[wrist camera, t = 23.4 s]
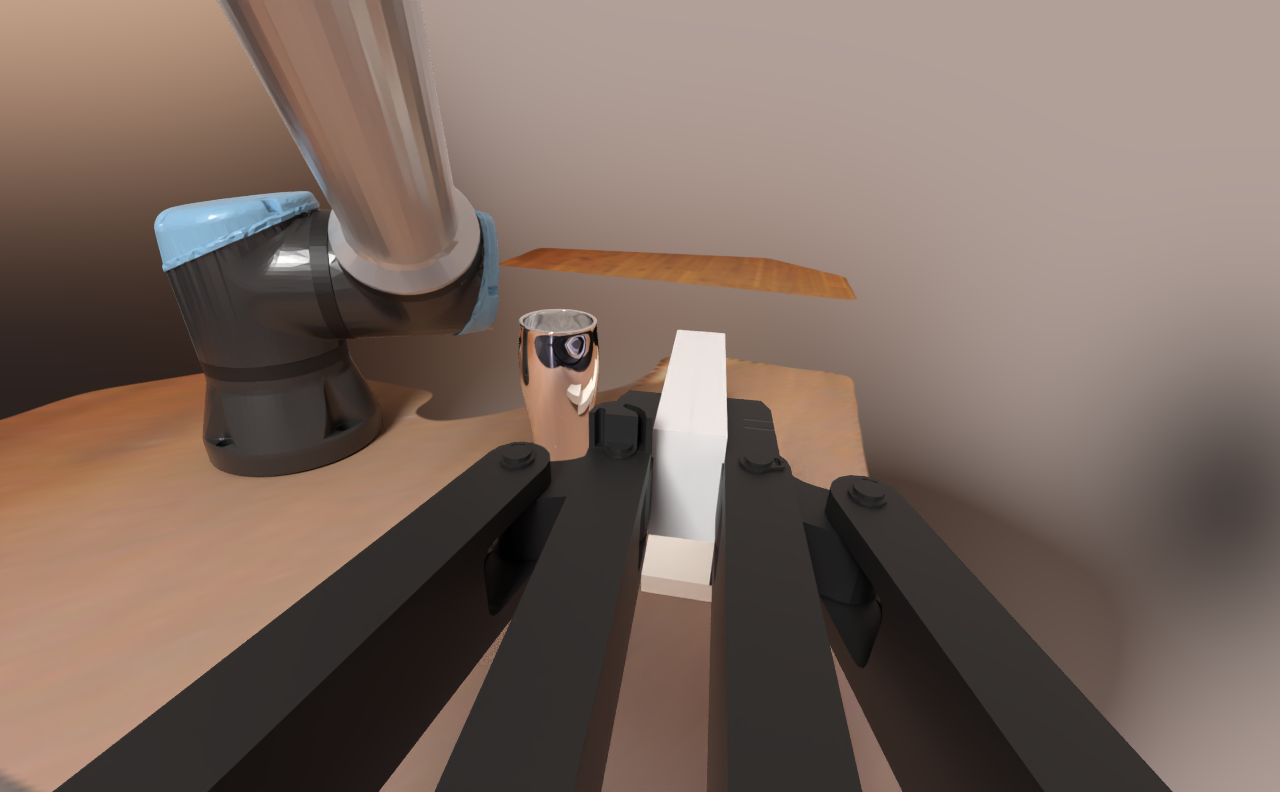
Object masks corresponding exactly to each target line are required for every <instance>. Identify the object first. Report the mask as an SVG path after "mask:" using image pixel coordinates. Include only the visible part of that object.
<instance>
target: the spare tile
mask: <svg viewBox="0 0 1280 792" xmlns="http://www.w3.org/2000/svg"><path fill="white" fill-rule="evenodd" d="M714 543H715V540H714V542H706V541H698V540H690V539H682V538H674V537H666V536H658V535H650V534H649V536H648V542H647V547H646V552H645V558H644V563H643V568H642V573H641V591H643V592H649V593H655V594H662V595H668V596H674V597H680V598H687V599H693V600H699V601H705V602H711V600H712V586H710V585H709V582H710V574H711V566H712V558H713V550H714Z"/></svg>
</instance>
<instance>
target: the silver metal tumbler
mask: <svg viewBox="0 0 1280 792" xmlns="http://www.w3.org/2000/svg"><path fill="white" fill-rule="evenodd" d="M519 371H520V380H521V386H522V391H523V396H524V400H525V404H526V408H527V412H528V415H529V419H530V423H531V427H532V433H533V443H535V444H538V445H540V446H543V447H545V448H546V450H547V451H548V452H549V453H550V461H561V460H570V459H576V458H580V457H583V456H585V454H586V452H587V450H588V448H589V411H590V410H591V409H592V408H593V407H594V406H595V401H596V395H597V389H598V382H599V345H598V332H597V319H596V318H595V317H594V316H593V315H591V314H589V313H586V312H581V311H577V310H568V309H548V310H540V311H534V312H531V313H528V314H526V315H524V316H522V317H521V318H520V319H519Z"/></svg>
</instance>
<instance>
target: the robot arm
mask: <svg viewBox="0 0 1280 792" xmlns="http://www.w3.org/2000/svg"><path fill="white" fill-rule="evenodd" d="M216 1H217V2H218V4H219V6H220V8H221V10H222V11H223V13H224V15H225V17H226V18H227V20H228V22H229V24H230V26H231V27H232V29H233V31H234V33H235V35H236V37H237V38H238V40H239V42H240V44H241V45H242V47H243V49H244V51H245V53H246V54H247V56H248V58H249V60H250V62H251V63H252V65H253V67H254V69H255V71H256V72H257V74H258V76H259V78H260V79H261V81H262V83H263V85H264V87H265V89H266V90H267V92H268V94H269V96H270V98H271V99H272V101H273V103H274V105H275V107H276V108H277V110H278V112H279V114H280V115H281V117H282V119H283V121H284V123H285V125H286V126H287V128H288V130H289V132H290V134H291V135H292V137H293V139H294V141H295V143H296V144H297V146H298V148H299V150H300V151H301V153H302V155H303V157H304V159H305V161H306V162H307V164H308V166H309V168H310V170H311V171H312V173H313V175H314V177H315V179H316V180H317V182H318V184H319V186H320V187H321V189H322V191H323V192H324V195H325V197H326V198H327V200H328V202H329V204H330V206H331V207H332V210H320V209H318V207H319V202H318V201H317V200H316V199H315V197H314V195H313V194H312V193H310V192H307V191H302V192H282V193H271V194H262V195H252V196H243V197H235V198H227V199H219V200H212V201H205V202H199V203H192V204H186V205H181V206H176V207H172V208H169V209H166V210H165V211H163V212H162V213H160V215H158V217H157V219H156V221H155V226H154V229H155V233H156V238H157V241H158V245H159V249H160V253H161V257H162V261H163V266H162V268H163V270H164V272H167V275H168V277H169V280H170V282H171V285H172V288H173V291H174V293H175V296H176V299H177V301H178V304H179V307H180V310H181V312H182V315H183V317H184V320H185V323H186V325H187V328H188V331H189V333H190V336H191V339H192V342H193V344H194V347H195V350H196V352H197V355H198V358H199V360H200V363H201V366H202V368H203V371H204V374H205V377H206V382H207V384H206V397H205V411H204V424H203V442H204V445H205V448H206V450H207V453H208V456H209V458H210V461H211V463H212V464H213V465H214V466H215V467H216V468H218V469H220V470H221V471H224V472H227V473H230V474H234V475H241V476H276V475H284V474H291V473H296V472H301V471H305V470H310V469H313V468H317V467H320V466H323V465H326V464H329V463H332V462H335V461H337V460H340V459H342V458H344V457H346V456H349V455H351V454H353V453H354V452H356V451H358V450H360V449H361V448H363V447H364V446H366V445H367V444H368V443H370V442H371V441H372V440H373V439H374V438H375V437H376V436H377V435H378V433H379V432H380V430H381V428H382V425H383V419H382V414H381V409H380V405H379V402H378V399H377V398H376V396H375V395H374V393H373V392H372V390H371V388H370V387H369V385H368V384H367V382H366V381H365V379H364V378H363V376H362V374H361V373H360V371H359V370H358V368H357V367H356V365H355V363H354V362H353V360H352V359H351V357H350V353H349V349H348V345H347V341H346V339H352V338H353V339H354V338H371V337H372V338H374V337H397V336H422V335H446V334H452V335H454V336H460V335H464V334H466V333H473V332H483V331H485V330H488V329H489V328H490V327H491V326H492V325H493V323H494V321H495V318H496V314H497V308H498V283H499V254H498V241H497V233H496V227H495V223H494V221H493V219H492V218H491V217H490V215H488V214H487V213H484V212H479V211H477V210H474V209H473V207H472V205H471V204H470V202H469V201H468V200H467V198H466V197H465V196H464V195H463V194H462V193H461V192H460V191H459V190H458V189H457V188H455V187H454V185H453V180H452V174H451V169H450V163H449V157H448V152H447V146H446V141H445V135H444V130H443V124H442V118H441V113H440V107H439V102H438V96H437V91H436V85H435V80H434V74H433V69H432V63H431V57H430V52H429V46H428V41H427V35H426V29H425V24H424V18H423V12H422V7H421V1H420V0H216ZM647 528H648V534H650V535H658V536H666V537H674V538H682V539H690V540H698V541H706V542H714V540H715V543H714V550H713V558H712V566H711V574H710V582H709V585H710V586H712V600H711V642H710V684H709V727H708V769H707V792H862V789H861V784H860V780H859V775H858V771H857V766H856V762H855V757H854V753H853V748H852V744H851V739H850V734H849V730H848V725H847V721H846V716H845V712H844V707H843V703H842V698H841V694H840V689H839V685H838V680H837V676H836V671H835V667H834V662H833V658H832V653H831V648H832V650H833V652H834V654H835V656H836V658H837V660H838V662H839V664H840V666H841V668H842V670H843V672H844V674H845V676H846V678H847V680H848V682H849V684H850V686H851V688H852V690H853V692H854V694H855V696H856V698H857V700H858V702H859V704H860V706H861V708H862V710H863V712H864V715H865V717H866V719H867V721H868V723H869V725H870V727H871V729H872V731H873V733H874V735H875V737H876V739H877V741H878V743H879V745H880V747H881V749H882V751H883V753H884V755H885V757H886V759H887V761H888V763H889V765H890V767H891V769H892V771H893V773H894V775H895V777H896V779H897V781H898V783H899V785H900V787H901V789H902V792H1172V791H1171V790H1170V788H1169V787H1168V786H1167V785H1166V784H1165V783H1164V782H1163V781H1162V780H1161V779H1160V778H1159V776H1158V775H1157V774H1156V773H1155V772H1154V771H1153V770H1152V769H1151V768H1150V767H1149V766H1148V764H1147V763H1146V762H1145V761H1144V760H1143V759H1142V758H1141V757H1140V756H1139V755H1138V754H1137V752H1136V751H1135V750H1134V749H1133V748H1132V747H1131V746H1130V745H1129V744H1128V743H1127V742H1126V741H1125V739H1124V738H1123V737H1122V736H1121V735H1120V734H1119V733H1118V732H1117V731H1116V730H1115V728H1114V727H1113V726H1112V725H1111V724H1110V723H1109V722H1108V721H1107V720H1106V719H1105V718H1104V717H1103V715H1102V714H1101V713H1100V712H1099V711H1098V710H1097V709H1096V708H1095V707H1094V705H1093V704H1092V703H1091V702H1090V701H1089V700H1088V699H1087V698H1086V697H1085V696H1084V694H1083V693H1082V692H1081V691H1080V690H1079V689H1078V688H1077V687H1076V686H1075V685H1074V684H1073V682H1072V681H1071V680H1070V679H1069V678H1068V677H1067V676H1066V675H1065V674H1064V673H1063V672H1062V670H1061V669H1060V668H1058V666H1057V665H1056V664H1055V663H1054V662H1053V661H1052V660H1051V659H1050V657H1049V656H1048V655H1047V654H1046V653H1045V652H1044V651H1043V650H1042V649H1041V648H1040V646H1039V645H1038V644H1037V643H1036V642H1035V641H1034V640H1033V639H1032V638H1031V637H1030V635H1028V633H1027V632H1026V631H1025V630H1024V629H1023V628H1022V627H1021V626H1020V625H1019V623H1018V622H1016V620H1015V619H1014V618H1013V617H1012V616H1011V615H1010V614H1009V613H1008V611H1007V610H1006V609H1005V608H1004V607H1003V606H1002V605H1001V604H1000V603H999V602H998V601H997V599H996V598H995V597H994V596H993V595H992V594H991V593H990V592H989V591H988V590H987V589H986V587H985V586H984V585H983V584H982V583H981V582H980V581H979V580H978V579H977V578H976V576H975V575H973V573H972V572H971V571H970V570H969V569H968V568H967V567H966V566H965V564H964V563H963V562H962V561H961V560H960V559H959V558H958V557H957V556H956V555H955V554H954V552H952V550H951V549H950V548H949V547H948V546H947V545H946V544H945V543H944V542H943V540H941V538H940V537H939V536H938V535H937V534H936V533H935V532H934V531H933V529H932V528H931V527H930V526H929V525H928V524H927V523H926V522H925V521H924V520H923V519H922V518H921V516H920V515H919V514H918V513H917V512H916V511H915V510H914V509H913V508H912V507H911V506H910V504H909V503H908V502H907V501H906V500H905V499H904V498H903V497H902V496H901V495H900V494H899V493H898V492H897V491H895V490H894V489H893V488H892V487H890V486H888V485H886V484H884V483H882V482H880V481H879V480H876V479H873V478H869V477H865V476H853V475H849V476H843V477H839V478H837V479H836V480H834V481H833V482H832V484H831V487H830V490H827V489H824V488H820V487H817V486H814V485H811V484H808V483H805V482H803V481H801V480H799V479H797V478H795V477H794V476H792V472H791V467H790V466H789V464H788V462H787V461H786V460H785V459H784V458H782V457H781V456H780V455H779V450H778V445H777V440H776V434H775V431H774V424H773V419H772V414H771V410H770V409H769V408H768V407H767V406H766V405H765V404H764V403H763V402H761V401H755V400H744V399H733V398H727V394H726V356H725V333H713V332H700V331H687V330H677V334H676V339H675V342H674V346H673V351H672V354H671V358H670V362H669V366H668V371H667V375H666V379H665V383H664V387H663V391H662V393H653V392H642V391H631V390H630V391H628V392H627V393H625V394H624V395H623V396H621V397H620V398H619V399H618V401H612V402H606V403H602V404H599V405H597V406H595V407H593V408H592V409H591V410H590V411H589V448H588V450H587V452H586V454H585V456H583V457H580V458H576V459H570V460H561V461H550V453H549V452H548V451H547V450H546V448H545V447H543V446H540V445H538V444H535V443H528V442H513V443H510V444H506V445H502V446H499V447H498V448H496V449H494V450H492V451H490V452H489V453H488V454H486V455H485V456H484V457H483V458H481V459H480V460H479V461H477V462H476V463H475V464H474V465H472V466H471V467H470V468H468V469H467V470H466V471H465V472H463V473H462V474H461V475H459V476H458V477H457V478H456V479H454V480H453V481H452V482H450V483H449V484H448V485H447V486H445V487H444V488H443V489H441V490H440V491H439V492H438V493H436V494H435V495H434V496H432V497H431V498H430V499H429V500H427V501H426V502H425V503H423V504H422V505H421V506H420V507H418V508H417V509H416V510H414V511H413V512H412V513H411V514H409V515H408V516H407V517H405V518H404V519H403V520H402V521H400V522H399V523H398V524H396V525H395V526H394V527H393V528H391V529H390V530H389V531H387V532H386V533H385V534H384V535H382V536H381V537H380V538H378V539H377V540H376V541H375V542H373V543H372V544H371V545H369V546H368V547H367V548H366V549H364V550H363V551H362V552H360V553H359V554H358V555H357V556H355V557H354V558H353V559H351V560H350V561H349V562H348V563H346V564H345V565H344V566H342V567H341V568H340V569H339V570H337V571H336V572H335V573H333V574H332V575H331V576H330V577H328V578H327V579H326V580H324V581H323V582H322V583H321V584H319V585H318V586H317V587H315V588H314V589H313V590H312V591H310V592H309V593H308V594H306V595H305V596H304V597H303V598H301V599H300V600H299V601H297V602H296V603H295V604H294V605H292V606H291V607H290V608H288V609H287V610H286V611H285V612H283V613H282V614H281V615H279V616H278V617H277V618H276V619H274V620H273V621H272V622H270V623H269V624H268V625H267V626H265V627H264V628H263V629H261V630H260V631H259V632H258V633H256V634H255V635H254V636H252V637H251V638H250V639H248V640H247V641H246V642H245V643H243V644H242V645H241V646H239V647H238V648H237V649H236V650H234V651H233V652H232V653H230V654H229V655H228V656H227V657H225V658H224V659H223V660H221V661H220V662H219V663H218V664H216V665H215V666H214V667H212V668H211V669H210V670H209V671H207V672H206V673H205V674H203V675H202V676H201V677H200V678H198V679H197V680H196V681H194V682H193V683H192V684H191V685H189V686H188V687H187V688H185V689H184V690H183V691H182V692H180V693H179V694H178V695H176V696H175V697H174V698H173V699H171V700H170V701H169V702H167V703H166V704H165V705H164V706H162V707H161V708H160V709H158V710H157V711H156V712H155V713H153V714H152V715H151V716H149V717H148V718H147V719H146V720H144V721H143V722H142V723H140V724H139V725H138V726H137V727H135V728H134V729H133V730H131V731H130V732H129V733H128V734H126V735H125V736H124V737H122V738H121V739H120V740H119V741H117V742H116V743H115V744H113V745H112V746H111V747H110V748H108V749H107V750H106V751H104V752H103V753H102V754H101V755H99V756H98V757H97V758H95V759H94V760H93V761H92V762H90V763H89V764H88V765H86V766H85V767H84V768H83V769H81V770H80V771H79V772H77V773H76V774H75V775H74V776H72V777H71V778H70V779H68V780H67V781H66V782H65V783H63V784H62V785H61V786H59V787H58V788H57V789H56V790H54V791H53V792H379V791H380V789H381V788H382V787H383V785H384V784H385V783H386V781H387V780H388V779H389V778H390V776H391V775H392V774H393V772H394V771H395V770H396V768H397V767H398V766H399V765H400V763H401V762H402V761H403V759H404V758H405V757H406V755H407V754H408V753H409V752H410V750H411V749H412V748H413V746H414V745H415V744H416V742H417V741H418V740H419V739H420V737H421V736H422V735H423V733H424V732H425V731H426V729H427V728H428V727H429V726H430V724H431V723H432V722H433V720H434V719H435V718H436V716H437V715H438V714H439V713H440V711H441V710H442V709H443V707H444V706H445V705H446V703H447V702H448V701H449V700H450V698H451V697H452V696H453V694H454V693H455V692H456V690H457V689H458V688H459V686H460V685H461V684H462V683H463V681H464V680H465V679H466V677H467V676H468V675H469V673H470V672H471V671H472V670H473V668H474V667H475V666H476V664H477V663H478V662H479V660H480V659H481V658H482V657H483V655H484V654H485V653H486V651H487V650H488V649H489V647H490V646H491V645H492V644H493V642H494V641H495V640H496V638H497V637H498V636H499V634H500V633H501V632H502V631H503V629H504V628H505V627H506V625H507V624H508V623H509V621H510V620H511V619H512V620H511V622H510V624H509V627H508V629H507V631H506V633H505V635H504V638H503V640H502V642H501V644H500V647H499V649H498V651H497V653H496V656H495V658H494V660H493V662H492V665H491V667H490V669H489V671H488V673H487V676H486V678H485V680H484V682H483V685H482V687H481V689H480V691H479V694H478V696H477V698H476V700H475V703H474V705H473V707H472V709H471V711H470V714H469V716H468V718H467V720H466V723H465V725H464V727H463V729H462V732H461V734H460V736H459V738H458V741H457V743H456V745H455V747H454V749H453V752H452V754H451V756H450V758H449V761H448V763H447V765H446V767H445V770H444V772H443V774H442V776H441V779H440V781H439V783H438V785H437V787H436V790H435V792H601V789H602V784H603V778H604V773H605V767H606V762H607V757H608V751H609V746H610V740H611V735H612V730H613V724H614V719H615V713H616V708H617V703H618V697H619V692H620V686H621V681H622V676H623V670H624V665H625V660H626V654H627V649H628V643H629V638H630V633H631V627H632V622H633V616H634V611H635V606H636V600H637V595H638V589H639V584H640V579H641V573H642V568H643V562H644V557H645V552H646V536H647ZM830 646H831V648H830Z"/></svg>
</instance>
